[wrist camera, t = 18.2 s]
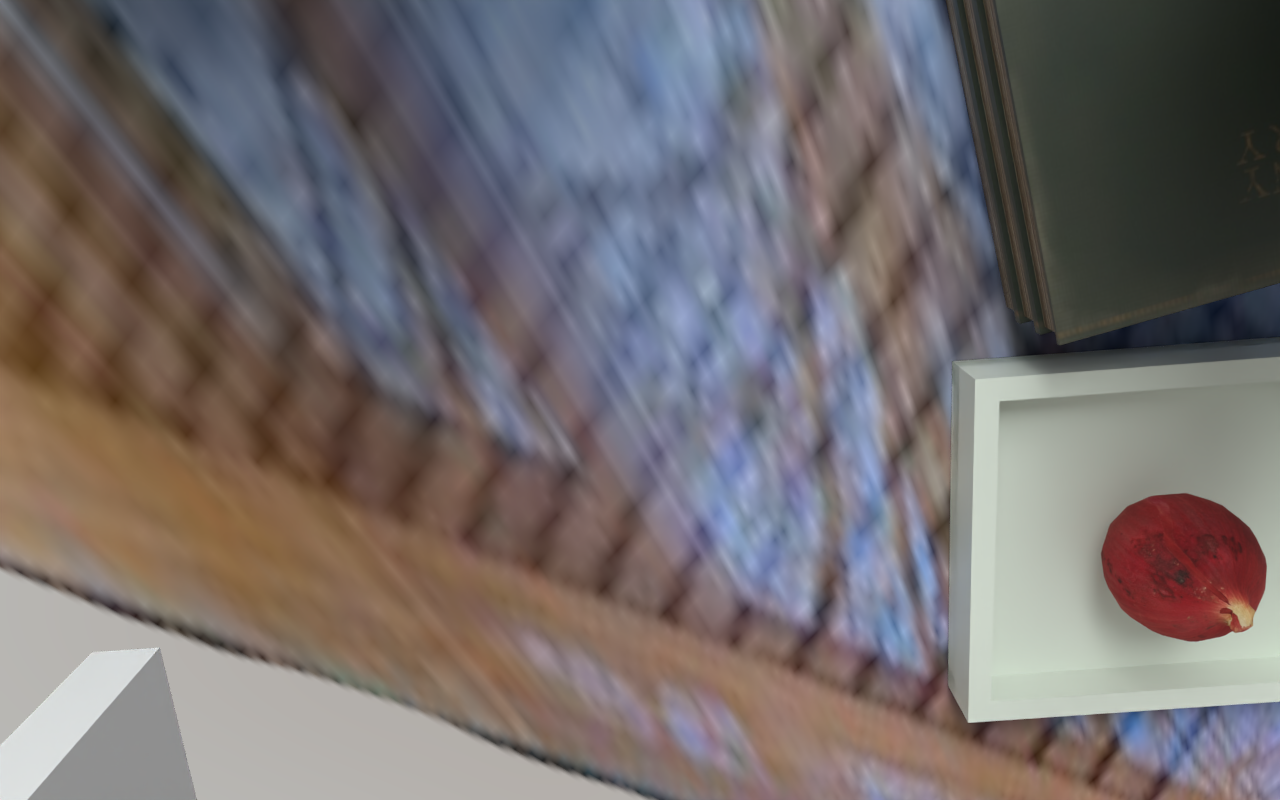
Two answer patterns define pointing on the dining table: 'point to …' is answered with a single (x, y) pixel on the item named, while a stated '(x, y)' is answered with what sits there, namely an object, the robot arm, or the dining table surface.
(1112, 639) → the tray
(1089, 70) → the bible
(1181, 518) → the onion
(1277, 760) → the dining table surface
